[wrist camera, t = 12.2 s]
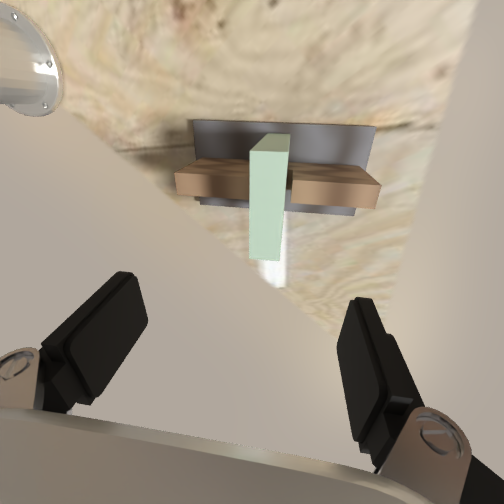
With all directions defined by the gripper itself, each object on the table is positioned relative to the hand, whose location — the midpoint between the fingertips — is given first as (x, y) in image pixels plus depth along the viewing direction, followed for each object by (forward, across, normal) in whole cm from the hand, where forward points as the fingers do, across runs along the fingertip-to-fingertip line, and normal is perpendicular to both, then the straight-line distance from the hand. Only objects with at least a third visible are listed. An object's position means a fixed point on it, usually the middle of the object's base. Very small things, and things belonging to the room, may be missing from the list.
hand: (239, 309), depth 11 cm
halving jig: (+30, 0, 0) cm, 30 cm away
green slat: (+28, 0, 0) cm, 29 cm away
